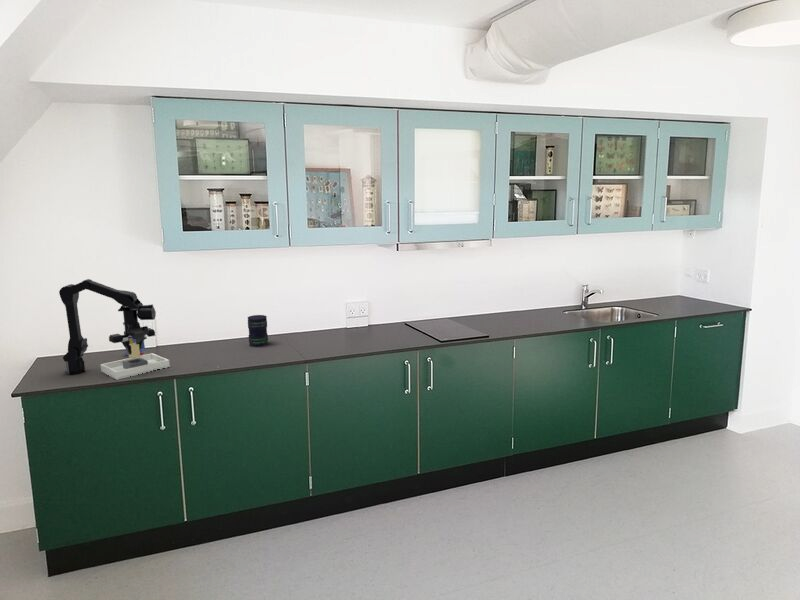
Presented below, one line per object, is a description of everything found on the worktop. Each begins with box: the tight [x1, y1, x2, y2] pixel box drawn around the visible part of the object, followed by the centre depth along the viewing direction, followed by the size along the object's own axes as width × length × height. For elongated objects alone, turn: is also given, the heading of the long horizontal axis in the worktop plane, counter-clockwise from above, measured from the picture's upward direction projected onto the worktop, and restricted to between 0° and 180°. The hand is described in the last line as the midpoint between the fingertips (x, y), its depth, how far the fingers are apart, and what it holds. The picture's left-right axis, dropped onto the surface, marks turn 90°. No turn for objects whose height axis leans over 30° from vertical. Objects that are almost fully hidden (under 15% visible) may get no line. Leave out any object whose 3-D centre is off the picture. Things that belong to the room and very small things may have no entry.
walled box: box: [100, 352, 171, 381], centre depth 276 cm, size 24×17×4 cm
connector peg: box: [128, 343, 140, 359], centre depth 274 cm, size 4×4×6 cm
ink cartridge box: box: [123, 333, 147, 356], centre depth 297 cm, size 10×6×14 cm, turn 51°
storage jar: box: [247, 314, 269, 348], centre depth 315 cm, size 10×10×15 cm
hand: (134, 353), depth 275 cm, fingers closed on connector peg, 4 cm apart
